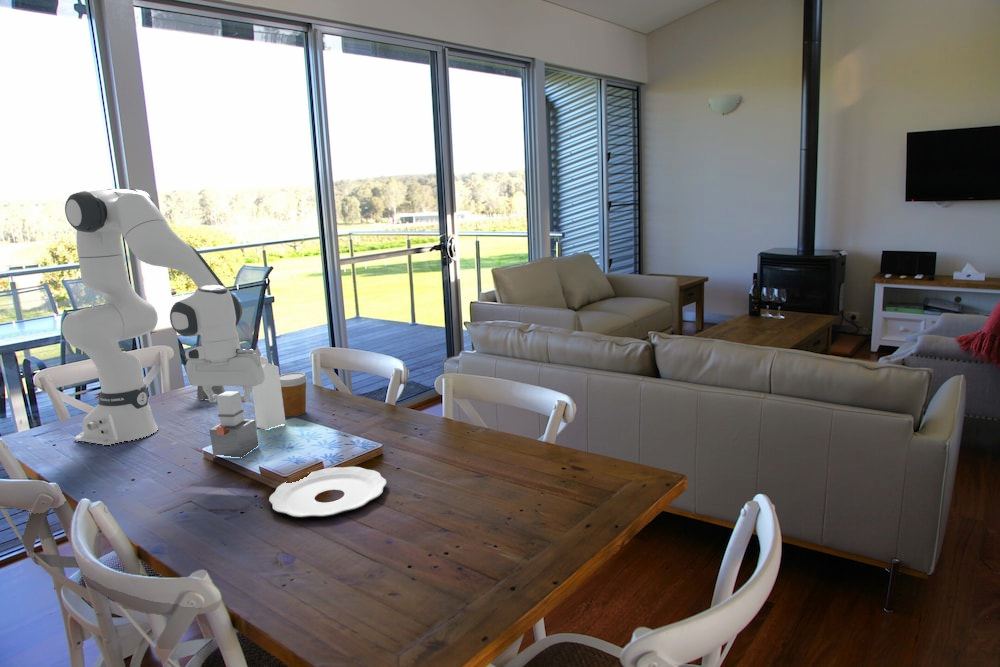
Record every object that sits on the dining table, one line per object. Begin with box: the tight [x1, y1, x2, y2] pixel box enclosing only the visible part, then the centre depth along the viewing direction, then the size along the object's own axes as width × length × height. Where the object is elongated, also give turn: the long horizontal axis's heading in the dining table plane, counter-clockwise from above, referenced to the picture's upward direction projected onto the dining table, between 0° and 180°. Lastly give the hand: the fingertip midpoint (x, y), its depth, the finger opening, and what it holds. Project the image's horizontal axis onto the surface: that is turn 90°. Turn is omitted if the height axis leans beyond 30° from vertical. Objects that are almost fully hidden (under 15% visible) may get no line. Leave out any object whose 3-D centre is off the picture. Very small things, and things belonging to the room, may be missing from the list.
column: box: [216, 390, 245, 429], centre depth 177 cm, size 4×4×16 cm
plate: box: [268, 466, 387, 519], centre depth 152 cm, size 25×25×2 cm
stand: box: [208, 418, 260, 459], centre depth 178 cm, size 14×14×10 cm
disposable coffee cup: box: [279, 372, 308, 417], centre depth 211 cm, size 10×10×12 cm
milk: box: [251, 355, 287, 430], centre depth 196 cm, size 6×6×22 cm
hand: (229, 401), depth 176 cm, fingers open, 8 cm apart
